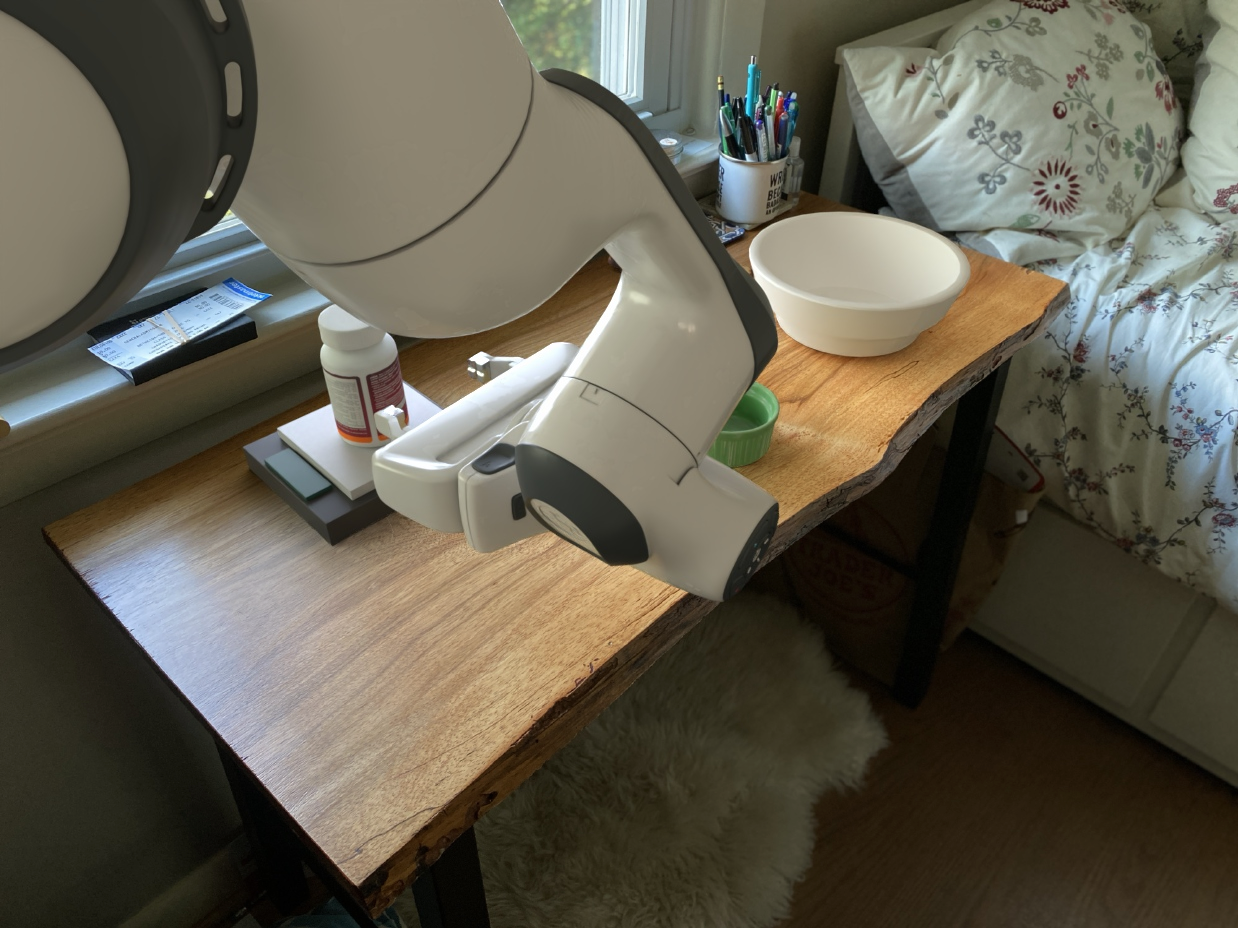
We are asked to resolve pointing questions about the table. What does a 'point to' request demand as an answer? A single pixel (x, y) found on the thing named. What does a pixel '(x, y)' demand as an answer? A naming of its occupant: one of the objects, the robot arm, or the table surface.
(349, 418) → the pill bottle
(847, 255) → the bowl
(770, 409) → the ramekin
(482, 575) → the table surface
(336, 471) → the scale
